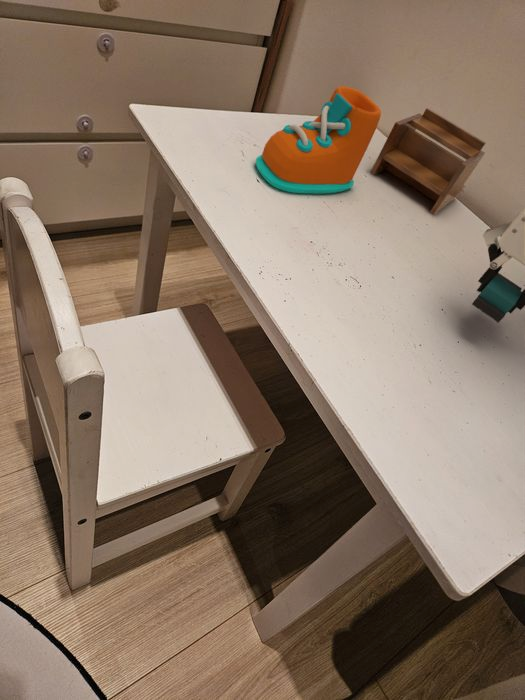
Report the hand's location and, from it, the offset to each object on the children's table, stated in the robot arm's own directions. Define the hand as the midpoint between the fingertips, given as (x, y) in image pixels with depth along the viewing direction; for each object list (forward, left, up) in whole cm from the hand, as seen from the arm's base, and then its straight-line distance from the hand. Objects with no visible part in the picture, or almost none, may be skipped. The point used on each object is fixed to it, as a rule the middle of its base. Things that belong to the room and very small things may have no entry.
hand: (496, 297), depth 68 cm
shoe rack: (+26, -31, -6) cm, 41 cm away
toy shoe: (+40, -8, -6) cm, 41 cm away
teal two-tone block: (0, 0, 0) cm, 0 cm away
